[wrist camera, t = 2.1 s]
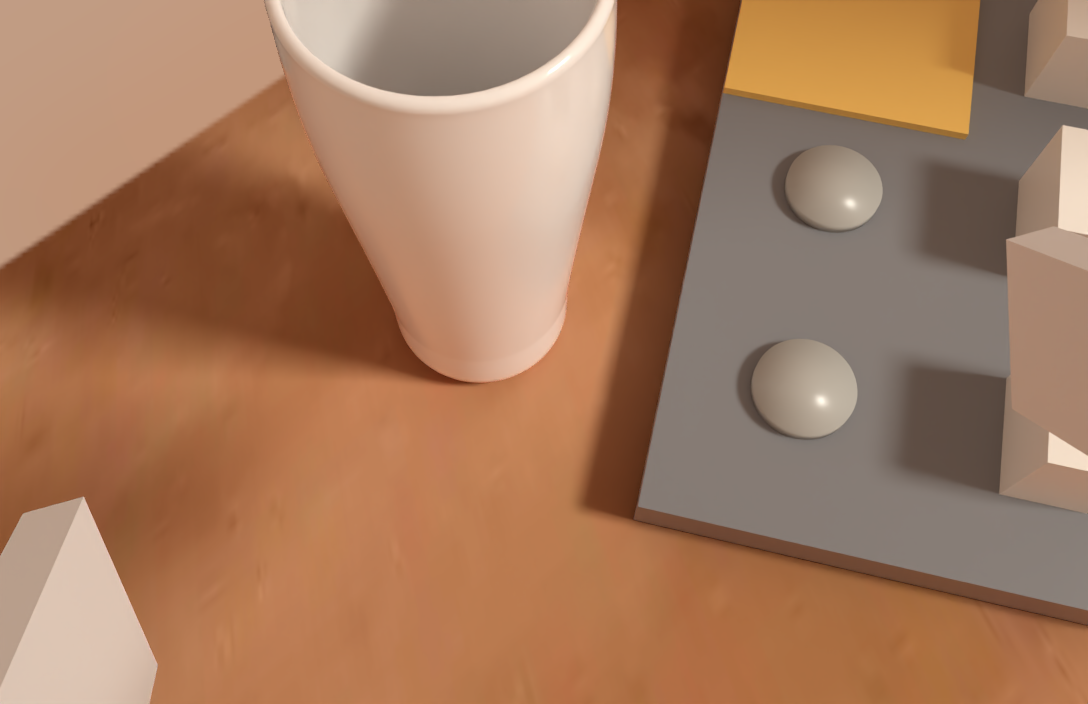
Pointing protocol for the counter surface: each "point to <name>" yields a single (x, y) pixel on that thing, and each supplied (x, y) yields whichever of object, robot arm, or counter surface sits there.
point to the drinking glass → (458, 157)
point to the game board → (879, 298)
